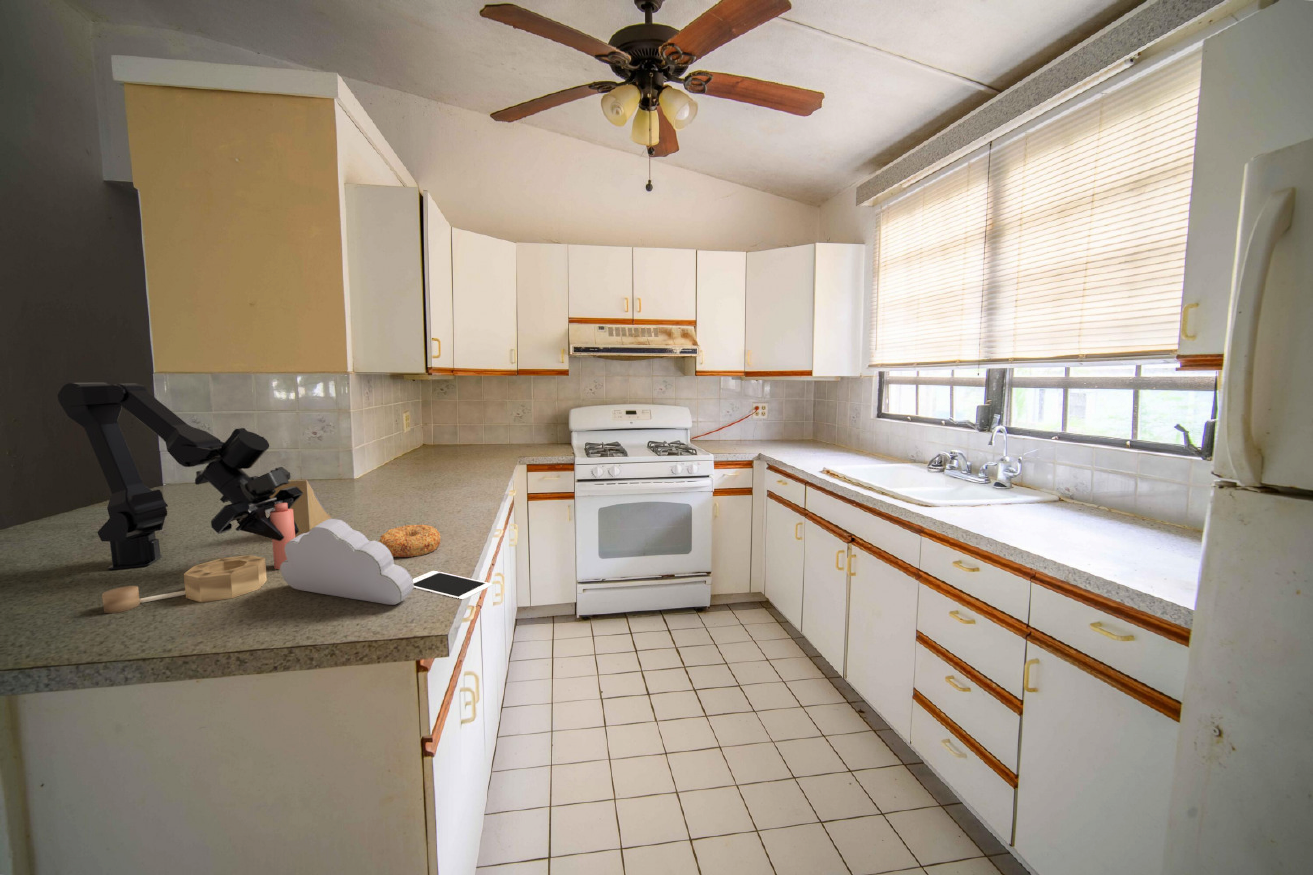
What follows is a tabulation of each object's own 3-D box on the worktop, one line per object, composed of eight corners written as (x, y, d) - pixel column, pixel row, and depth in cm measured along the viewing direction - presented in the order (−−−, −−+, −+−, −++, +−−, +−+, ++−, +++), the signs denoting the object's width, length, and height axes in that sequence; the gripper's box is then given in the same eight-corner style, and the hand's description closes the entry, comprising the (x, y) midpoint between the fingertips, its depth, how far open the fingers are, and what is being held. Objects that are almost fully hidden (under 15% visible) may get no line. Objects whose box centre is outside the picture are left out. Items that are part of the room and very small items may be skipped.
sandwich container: (336, 522, 145) (332, 469, 144) (312, 539, 130) (307, 479, 129) (301, 524, 144) (297, 470, 142) (273, 541, 129) (267, 481, 127)
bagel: (401, 540, 129) (399, 520, 129) (452, 543, 128) (451, 523, 127) (365, 558, 117) (363, 536, 116) (421, 561, 115) (420, 539, 114)
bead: (177, 605, 92) (175, 580, 92) (203, 582, 102) (201, 560, 102) (254, 595, 96) (252, 571, 96) (271, 574, 107) (269, 553, 106)
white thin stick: (117, 608, 91) (116, 603, 91) (118, 606, 92) (117, 602, 92) (208, 590, 98) (207, 586, 98) (208, 589, 99) (207, 585, 99)
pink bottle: (272, 570, 109) (266, 506, 107) (277, 564, 112) (272, 502, 111) (294, 568, 110) (289, 505, 109) (299, 561, 114) (294, 500, 112)
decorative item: (266, 596, 96) (259, 516, 95) (314, 577, 106) (309, 504, 104) (388, 617, 88) (383, 530, 86) (429, 595, 97) (425, 516, 95)
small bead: (98, 614, 88) (95, 597, 88) (112, 604, 92) (110, 588, 92) (132, 610, 90) (130, 593, 90) (145, 600, 94) (143, 584, 94)
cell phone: (433, 573, 109) (433, 570, 109) (493, 586, 102) (493, 583, 102) (400, 586, 102) (400, 583, 102) (462, 602, 95) (462, 599, 95)
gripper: (219, 464, 99) (280, 522, 100) (291, 450, 118) (342, 499, 119) (183, 504, 101) (244, 561, 102) (260, 485, 119) (311, 532, 120)
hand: (289, 536), depth 110 cm, fingers closed on pink bottle, 4 cm apart
